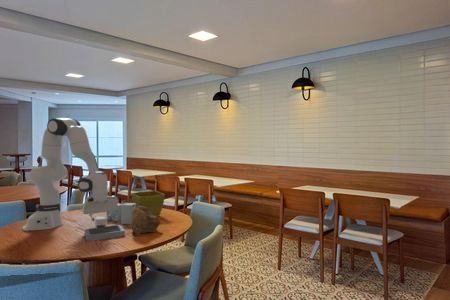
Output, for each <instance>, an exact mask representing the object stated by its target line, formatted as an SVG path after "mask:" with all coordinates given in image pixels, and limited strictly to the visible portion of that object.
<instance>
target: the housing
mask: <svg viewBox="0 0 450 300" xmlns="http://www.w3.org/2000/svg"><path fill="white" fill-rule="evenodd" d="M94 225H95V226H94V228H99V227H107V218H106V217H105V216H104V215H103V216H96V217H94Z"/></svg>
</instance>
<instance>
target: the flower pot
mask: <svg viewBox="0 0 450 300" xmlns="http://www.w3.org/2000/svg"><path fill="white" fill-rule="evenodd" d="M130 195H131V203H136V209H137V208H138V206H144V207H146V208H147V209H148V210H149V211H150V212H151V214H152V215H153V216H156V217H158V218H159V217H160V216H161V213H162V209H163V208H164V203H165V196H166V194H165V193H163V192H160V191H157V190H148V191H147V190H146V191H138V192H131V193H130Z"/></svg>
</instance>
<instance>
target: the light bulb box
mask: <svg viewBox="0 0 450 300" xmlns="http://www.w3.org/2000/svg"><path fill="white" fill-rule="evenodd" d="M123 204H124V203H119V202H117V205H118V210H117V211H112V214H111V216H110V219H108V216H109V214H110V213H109V212H106V221H115V222H120V221H122V219H121V205H123Z"/></svg>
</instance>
